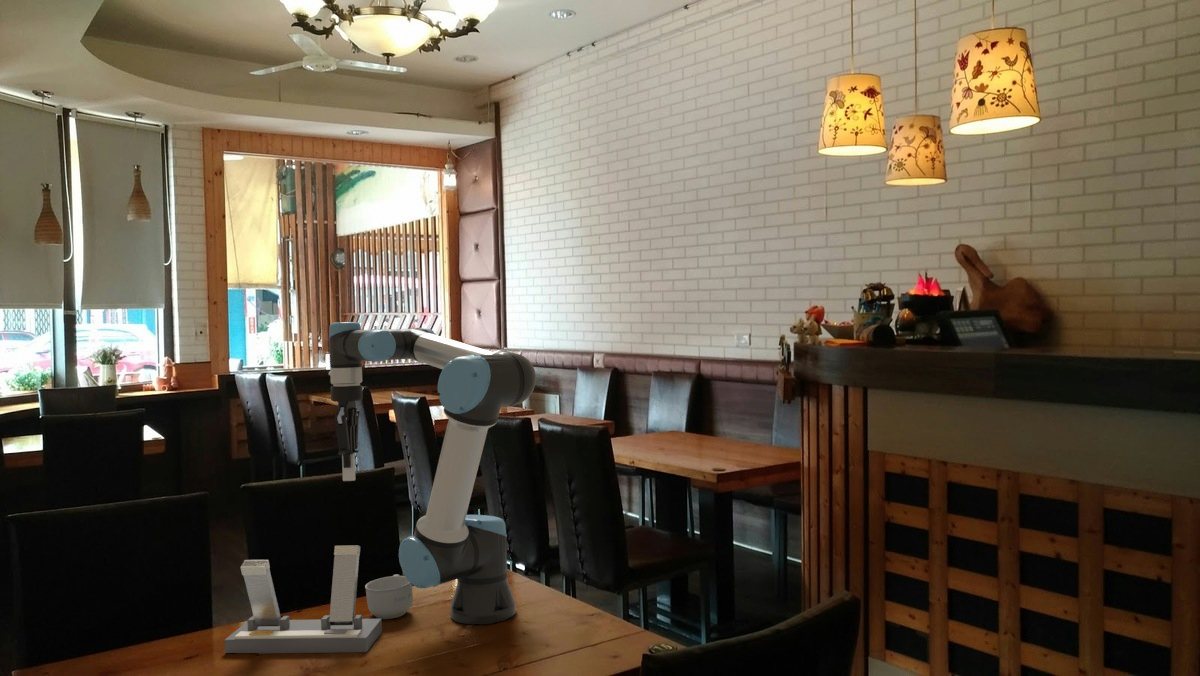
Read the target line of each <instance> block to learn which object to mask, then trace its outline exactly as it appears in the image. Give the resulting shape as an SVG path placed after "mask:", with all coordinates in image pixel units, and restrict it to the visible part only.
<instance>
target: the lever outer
mask: <svg viewBox="0 0 1200 676" xmlns="http://www.w3.org/2000/svg"><path fill="white" fill-rule="evenodd" d="M270 568H271V566H270V561H269V559H244V560H243V562H242V564H241V566H240V571H241V575H242V576H243V579H244V583H245V588H246V591H247V595H248V600H249V603H250V607H251V611H252V616H254V620H255V624H256V625H257V626H258V627H261V626H280V619H281V618H282V617H281V613H280V608H279V603H278V599H277V596H276V591H275V587H274V582H273V578H272V575H271V570H270Z"/></svg>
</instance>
